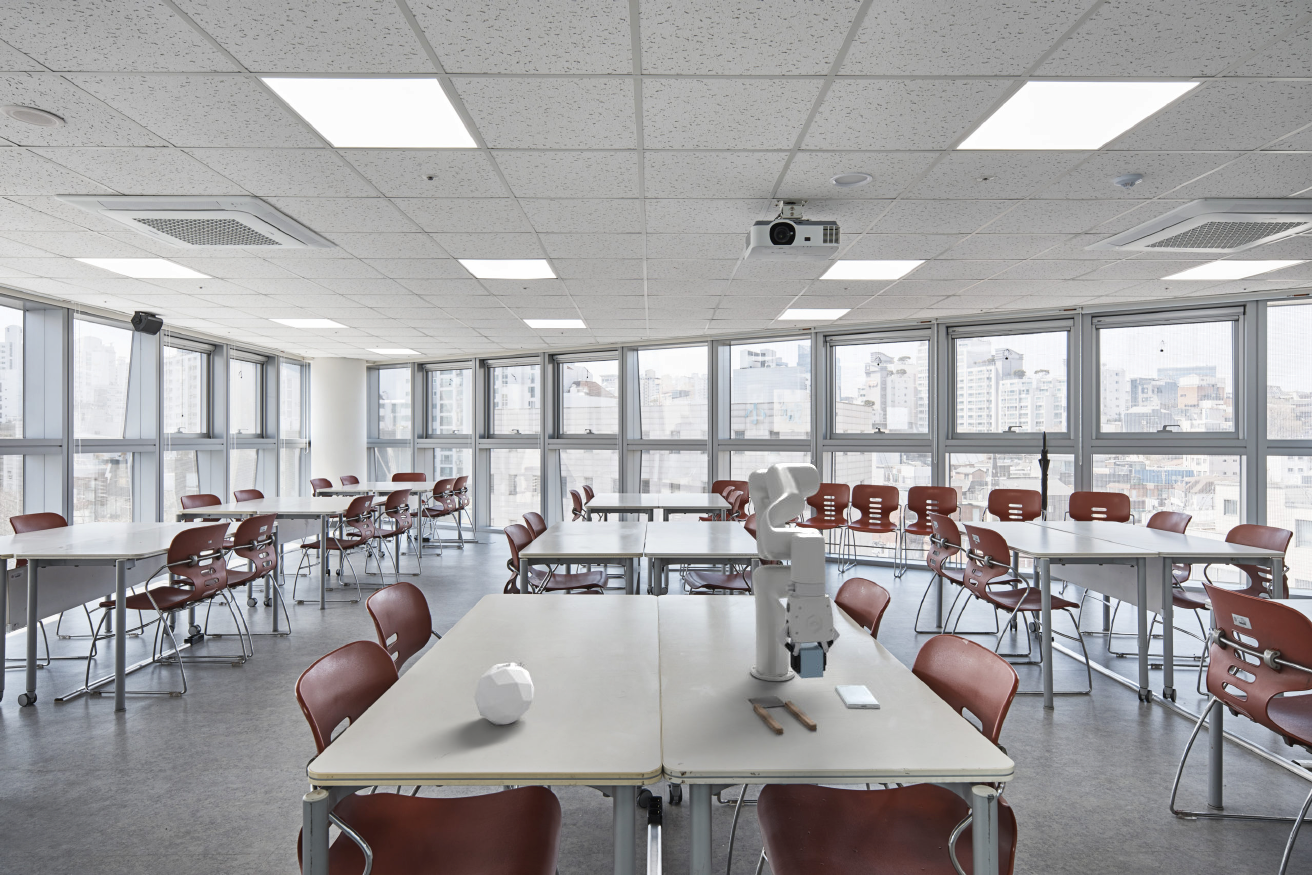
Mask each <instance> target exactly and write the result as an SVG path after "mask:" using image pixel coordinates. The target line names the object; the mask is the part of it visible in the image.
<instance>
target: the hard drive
mask: <svg viewBox="0 0 1312 875" xmlns="http://www.w3.org/2000/svg"><path fill="white" fill-rule="evenodd" d="M834 689H835V691H836V692H837V694H838V695H839V697H840V699H841V700H842V701H843V703H844V704H845V706H846V707H847V708H850V709H853V708H855V709H881V704H880V703H879V702H878V700H877V699H876V698H875V697H874V695H873V694H872V692H871V691H870V690H869V688H867V686H866V685H863V684H861V685H855V684H853V685H852V684H851V685H848V684H847V685H845V684H844V685H843V684H842V685H839V684H838V685H835V688H834Z"/></svg>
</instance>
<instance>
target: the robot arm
mask: <svg viewBox="0 0 1312 875" xmlns="http://www.w3.org/2000/svg"><path fill="white" fill-rule="evenodd" d="M820 476H821V475H820V474H819V471H818V468H816V466H814V465H813V464H812V463H811V464H810V463H803V462H802V463H789V462H788V463H783V462H782V463H776V464H773V465H771V466H770V467H769V468H765V469H764V468H762V469H758V470H754V471H752V472H751V473H750V474H749V476H748V482H747V485H748V487H747V488H748V493H749V497H750V500H751V502H752V504H753V508H754V512H755V518H756V519H755V522H756V523H755V524H756V525H755V527H756V529H755V531H756V533H755V535H756V536H755V537H756V538H755V539H756V551H757V555H758V557H760V559H762V560H767V561H790V564H764V565H760V566H757V567H756V568H755V569H754V571H753V572H752V576H751V577H752V578H751V579H752V586H753V594H754V604H755V664H754V665H752V666H751V667H750V673H751V675H752V676H753V677H755V678H757V679H760V680H764V681H769V682H784V681H789V680H791V679H793V678H794V677H795V674H797V675H798V674H800V673H801V657H800V655H799V649H800V646H801V643H816V644H817V645H818V646H819V647H820V648H821V649H823V672H826V666H827V662H828V661H827V653H829V652H830V648H831V647H832V646H833V645H834V642H835V641H837V640H838V638H840V635H841V634H840V633H839V632H838V630H837V629H836V628H835V627H834V616H833V609H832V603H831V599H830V598H831V597H830V595H829V594H827V593H826V541H825V540H826V539H825V537H824V536H823V535H822V533H821V532H820V530H819V529H817V528H812V527H787V526H786V523H788V522H790V521H791V520H794V519H796V518H798V517H799V516H800V515H801V514H803V512H804V510H805V507H806V500H805V499H806V498H809V497H812V496H814V495H816V494H817V493H818V491H819V490H820V487H821V477H820ZM781 599H786V604H785V606H784V604H783V603H782V602H781V601H780V600H781ZM789 639H790V640H789Z"/></svg>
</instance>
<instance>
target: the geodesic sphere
mask: <svg viewBox="0 0 1312 875" xmlns="http://www.w3.org/2000/svg"><path fill="white" fill-rule="evenodd" d="M522 664H523V662H522V661H520V662H519V663H518V664H517V663H515V662H507V663H504V662H503V663H498V664H494V665H493V666H492V667H490V668H489V669H488V670H487V671H486V672H485V673H484V674H482V675H481V676H480V677H479V679H478V683H477V685H476V689H475V693H474V696H473V698H474V701H475V705H476V707H477V711H478V713H479V716H481V717H483V718H484V719H485V720H487V721H490V722H491V723H492V724H495V725H508V724H512V723H515V722H516V721H518V720H519V719H520V718H521V717H523V716H524V715H525V714H526V713H527V711H528V710H529V709H530V707H531V705H532V702H533V700H534V695H535V687H534V684H533V681H532V678H531V675H530V672H529V670H526V669H525V668H523V667H524V666H525V664H523V665H522Z"/></svg>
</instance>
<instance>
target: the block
mask: <svg viewBox="0 0 1312 875" xmlns="http://www.w3.org/2000/svg"><path fill="white" fill-rule="evenodd" d="M799 655H800V657H801V673H800V674H797V676H798V677H800V679H813V678H814V679H815V678H824V671H823V649H821V648H820V647H819V646H818V645H817V643H816V642H814V643H801V646H800V649H799Z"/></svg>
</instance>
